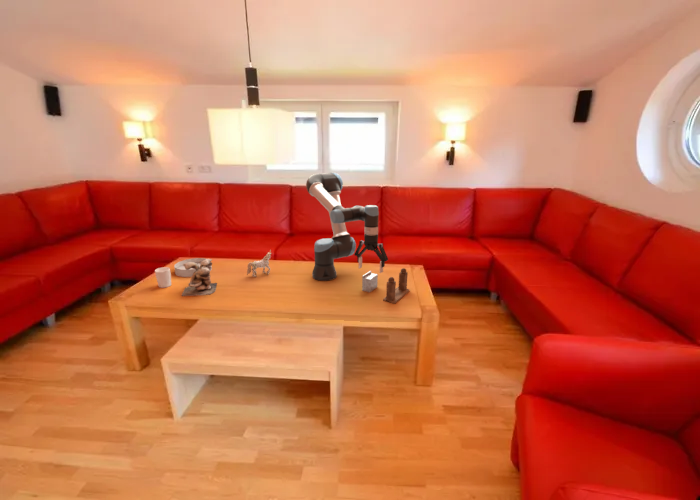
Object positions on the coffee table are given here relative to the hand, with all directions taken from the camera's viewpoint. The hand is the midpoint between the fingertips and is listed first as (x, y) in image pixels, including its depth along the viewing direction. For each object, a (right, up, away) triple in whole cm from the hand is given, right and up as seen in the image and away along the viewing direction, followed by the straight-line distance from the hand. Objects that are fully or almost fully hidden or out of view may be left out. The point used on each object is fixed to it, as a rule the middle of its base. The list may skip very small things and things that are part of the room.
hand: (370, 270), depth 203 cm
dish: (-113, -2, +30) cm, 117 cm away
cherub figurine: (-97, -11, +2) cm, 98 cm away
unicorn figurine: (-69, -4, +26) cm, 73 cm away
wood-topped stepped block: (0, -11, +4) cm, 12 cm away
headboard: (+14, -14, -5) cm, 20 cm away
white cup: (-120, -10, +7) cm, 121 cm away
